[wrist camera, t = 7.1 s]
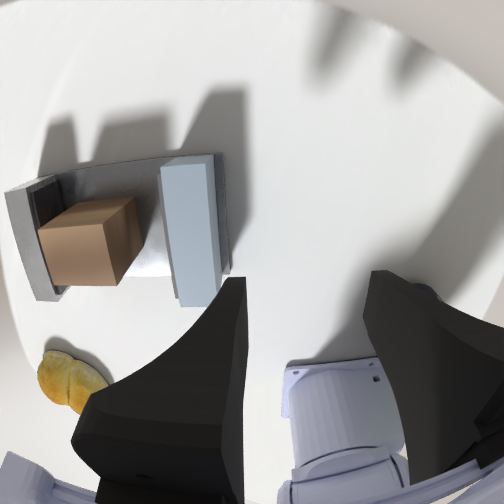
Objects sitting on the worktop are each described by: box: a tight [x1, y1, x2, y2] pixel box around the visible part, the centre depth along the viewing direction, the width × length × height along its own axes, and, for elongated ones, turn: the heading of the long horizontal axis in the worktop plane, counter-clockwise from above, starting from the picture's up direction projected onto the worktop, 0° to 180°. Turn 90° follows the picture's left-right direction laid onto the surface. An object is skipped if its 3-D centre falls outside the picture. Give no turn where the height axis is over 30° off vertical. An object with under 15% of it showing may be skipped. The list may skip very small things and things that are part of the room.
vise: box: [4, 153, 230, 302], centre depth 17 cm, size 14×8×4 cm, turn 92°
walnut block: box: [37, 196, 144, 286], centre depth 16 cm, size 4×4×5 cm
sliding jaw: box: [157, 154, 222, 307], centre depth 17 cm, size 2×8×4 cm, turn 2°
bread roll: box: [37, 350, 108, 415], centre depth 25 cm, size 8×9×4 cm
